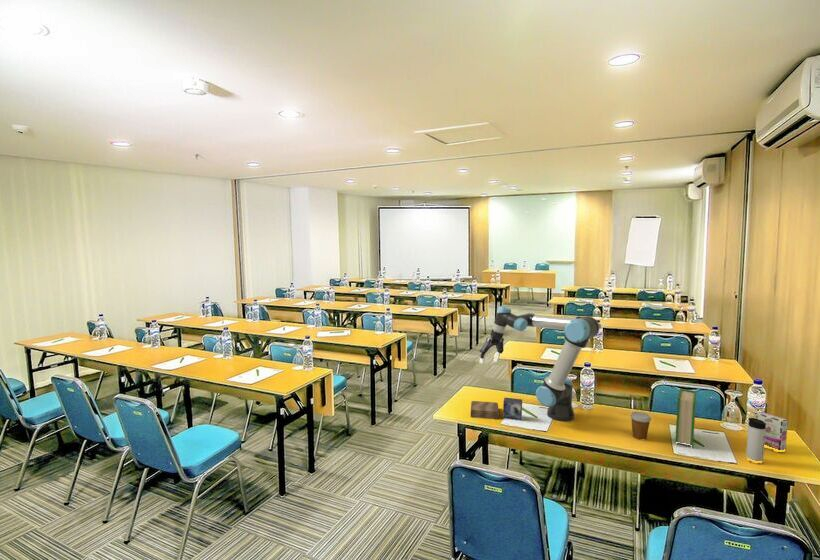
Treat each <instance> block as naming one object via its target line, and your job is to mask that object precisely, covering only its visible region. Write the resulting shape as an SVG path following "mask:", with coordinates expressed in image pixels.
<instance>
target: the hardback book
mask: <svg viewBox="0 0 820 560" xmlns="http://www.w3.org/2000/svg"><path fill="white" fill-rule="evenodd" d="M696 404H697V391H696V390H689V389H685V388H679V392H678V397H677V408H676V423H675V424H676V425H675V441H674V443H675V442H680V443H686V444H690V445H692V446H693V447H694V438H693V437H694V435H695V422H696Z"/></svg>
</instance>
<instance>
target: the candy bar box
mask: <svg viewBox="0 0 820 560" xmlns="http://www.w3.org/2000/svg"><path fill="white" fill-rule="evenodd" d="M756 419H759V420H761V421H764V422H765V423H766V432H765V445H767V446H769V447H772V448H775V449H778V450H784V449H787V434H788V424H789V420H788V419H786V418H783V417H780V416H776V415H774V414H771V413H767V412H764V411H761V412H757V413H756Z"/></svg>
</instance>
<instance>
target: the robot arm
mask: <svg viewBox="0 0 820 560" xmlns="http://www.w3.org/2000/svg"><path fill="white" fill-rule="evenodd" d="M507 326H508V327H510V328H512V329H514V330H516V331H519V332H524V331H525V330H526V329H527V327H532V328H541V329H551V330H558V331H559V330H560V331H564V334H565V335H564V337H563V338H564V344H563V346H562V348H561V351H560V353H559V355H558V357H557V359H556V361H555V363H554V365H553V367H552V369H551V372H550V373H549V376H547V377H545V378H544V379H543V382H542V383H541V385H540V386H539V387H538V388H536V391H535V396H536V400H537V401H538V402H539V404H540V405H542V406H544V407H546V408H547V410H546V415H547V417H548V418H550V419H552V420H555V421H558V422H559V421H560V422H571V421H573V420H575V411H574V408H573V402H572V401H573V386H574V385H573V380H572V379H571V378H568V377H569V374H570V373H571V371H572V369H573V367H574V365H575V363H576V360H577V358H578V356H579V354H580V352H581V350H582V349H585V348H586V347H587V344H588V343H589V341H590V339H593V338H595V337H596V336H597V335H598V334H599V332H600V328H601V327H600V324H599V322H598V320H597V319H595V318H594V317H592V316H578V315H577V316H576V317H569V316H568V317H567V316H559V315H558V316H556V315H545V314H543V315H542V314H535V313H529V312H528V313H525V314H520V315H515V314H514V313H512V309H511V308H510V307H508V306H504V305H500V306H499V307H498V309H497V312H496V315H495V319H494V322H493V325H492V329H491V331H490V337H486V340H485V342H484V343H483V345H482V346H481V348H480V349H479V352H480V356H479V357H480V358H479V360H478V362H479V364H481V365H483V364H484V362H485V359H486V356H487V352H488V351H489V350H490V349H491V347H494V346H495V348H496V351H495V354H494V358H493V360H492V361H493V362H494V363H498V362H499V359H500V355H501V354H503V352H504V340H505V339H504V338H503V337H504V335H505V331H506V328H507Z"/></svg>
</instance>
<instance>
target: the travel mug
mask: <svg viewBox="0 0 820 560" xmlns="http://www.w3.org/2000/svg"><path fill="white" fill-rule="evenodd" d="M747 420H748V425H747V426H748V427H747V441H746V452H745V457H746V456H747V457H748V458H750V459H752V460H755V461H763V462H764V458H765V455H764V454H765V448H764V445H765V432H766V423H765V422H764V421H761V420H759V419H757V418H754V417H749V418H748V417H747Z"/></svg>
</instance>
